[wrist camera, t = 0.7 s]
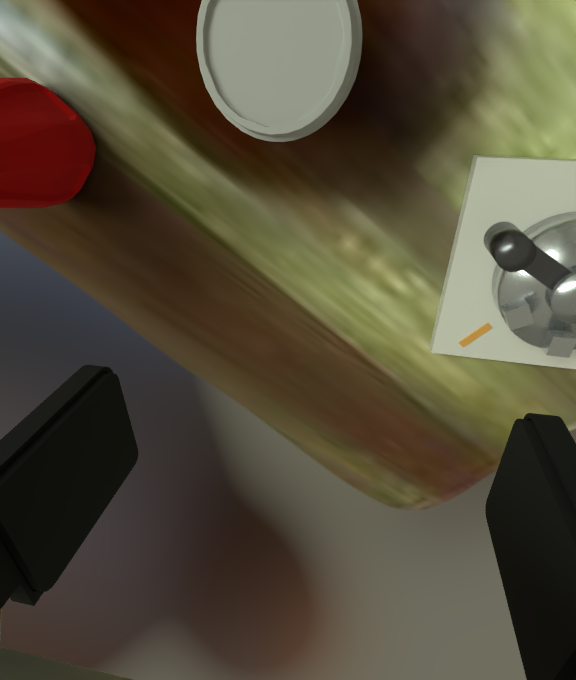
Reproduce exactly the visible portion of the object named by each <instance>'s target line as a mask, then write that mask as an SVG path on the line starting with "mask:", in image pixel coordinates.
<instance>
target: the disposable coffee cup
mask: <svg viewBox="0 0 576 680" xmlns="http://www.w3.org/2000/svg"><path fill="white" fill-rule="evenodd" d="M196 42H197V54H198V60H199V65H200V71H201V74H202V77H203V80H204V83H205V86H206V88H207V90H208V92H209V94H210V96H211V97H212V99H213V101H214V103H215V105H216V106H217V107H218V109H219V110H220V111H221V112H222V114H223V115H224V116H225V117H226V118H227V120H228V121H230V122H231V123H232V124H234V125H235V126H236V127H237V128H239V129H240V130H241V131H243V132H245V133H247V134H249V135H251V136H253V137H255V138H258V139H262V140H266V141H272V142H285V141H292V140H296V139H299V138H302V137H305V136H308V135H310V134H311V133H313V132H315V131H317V130H318V129H319V128H321V127H322V126H323V125H325V124H326V123H327V122H328V121H329V120H330V119H331V118H332V117H333V116H334V115H335V114H336V113H337V112H338V110H339V109H340V107H341V106H342V104H343V103H344V101H345V100H346V98H347V96H348V94H349V92H350V90H351V88H352V86H353V84H354V81H355V79H356V75H357V72H358V68H359V63H360V59H361V50H362V24H361V16H360V12H359V7H358V3H357V0H202V2H201V6H200V10H199V14H198V22H197V36H196Z"/></svg>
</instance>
